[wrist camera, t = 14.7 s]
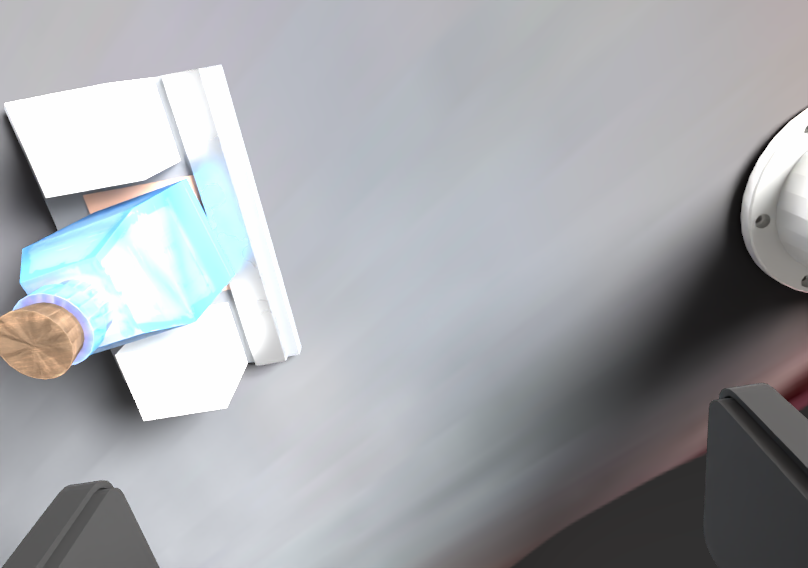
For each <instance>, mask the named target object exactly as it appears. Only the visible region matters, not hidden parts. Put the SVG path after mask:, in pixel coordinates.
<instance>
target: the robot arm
mask: <svg viewBox="0 0 808 568" xmlns="http://www.w3.org/2000/svg"><path fill="white" fill-rule="evenodd" d="M741 227H742V235H743V238H744V241H745V245H746V248H747V250H748V252H749V253H750V255H751V257H752V258H753V260H754V262H755V263H756V264H757V265H758V266H759V267H760V268H761V269H762V270H763V271H764V272H765V273H766V274H767V275H769V276H770V277H772V278H774V279H775V280H777V281H778V282H780V283H781V284H783V285H786V286H788V287H790V288H792V289H795V290H797V291H802V292H807V293H808V108H807V109H806V110H804V111H803V112H802V113H800V114H799V115H798V116H796V117H795V118H794V119H793V120H791V121H790V122H789V123H788V124H787V125H786V126H785V127H784V128H783V129H782V130H781V131H780V132H779V133H778V134H777V135H776V136H775V137H774V138H773V139H772V141H771V142H770V144H769V145H768V146H767V148H766V149H765V150H764V152H763V153H762V155H761V156H760V157H759V159H758V161H757V163H756V165H755V167H754V169H753V171H752V173H751V175H750V177H749V180H748V183H747V186H746V189H745V192H744V195H743V201H742V209H741ZM703 531H704V538H705V541H706V545H707V547H708V550H709V552H710V554H711V556H712V558H713V559H714V561H715V563H716V564H717V566H718V568H808V420H807V419H806V418H805V417H804V416H803V415H802V414H801V413H800V412H799V411H798V410H797V409H796V408H794V407H793V406H792V405H791V404H790V403H789V402H788V401H787V400H786V399H785V398H783V397H782V396H781V395H780V394H779V393H778V392H777V391H776V390H775V389H774V388H772V387H771V386H769V385H768V384H765V383H758V384H751V385H744V386H738V387H731V388H725V389H723V390H722V391H721V393H720V395H719V399H718V400H713V401H711V403H710V406H709V419H708V440H707V461H706V484H705V504H704V526H703ZM2 568H159V566H158V564H157V562H156V560H155V557H154V555H153V553H152V551H151V549H150V547H149V545H148V543H147V541H146V539H145V537H144V535H143V533H142V531H141V529H140V527H139V525H138V523H137V521H136V519H135V516H134V514H133V512H132V510H131V508H130V506H129V504H128V502H127V500H126V498H125V496H124V494H123V493H122V491H121V490H120V489H118V488H114V487H113V486H112V484H111V483H109V482H108V481H102V480H101V481H94V482H87V483H81V484H74V485H69V486H67V487H65V488H64V489H63V490H62V491H61V492H60V493H59V494H58V495H57V496H56V498H55V499H54V500H53V502H52V503H51V504H50V505H49V507H48V508H47V509H46V511H45V512H44V513H43V515H42V516H41V517H40V519H39V520H38V521H37V522H36V524H35V525H34V526H33V528H32V529H31V530H30V532H29V533H28V534H27V535H26V537H25V538H24V539H23V541H22V542H21V543H20V545H19V546H18V547H17V548H16V550H15V551H14V552H13V554H12V555H11V556H10V558H9V559H8V560H7V562H6V563H5V564H4V565H3V567H2Z"/></svg>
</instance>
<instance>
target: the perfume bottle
mask: <svg viewBox="0 0 808 568" xmlns="http://www.w3.org/2000/svg"><path fill="white" fill-rule="evenodd" d="M235 275H236V274H235V272H234V270H233V268H232V266H231V264H230V262H229V260H228V258H227V256H226V254H225V252H224V250H223V248H222V246H221V244H220V242H219V240H218V239H217V237H216V235H215V233H214V231H213V229H212V227H211V225H210V223H209V221H208V219H207V217H206V215H205V213H204V211H203V209H202V207H201V205H200V203H199V201H198V199H197V197H196V195H195V193H194V191H193V189H192V187H191V185H190V183H189V181H188V179H187V178H186V179H184V180H181V181H178V182H175V183H173V184H170V185H167V186H164V187H162V188H159V189H156V190H154V191H151V192H148V193H145V194H143V195H140V196H137V197H135V198H132V199H129V200H126V201H124V202H121V203H118V204H116V205H113V206H110V207H107V208H105V209H102V210H99V211H97V212H94V213H92V214H90V215H88V216H86V217H84V218H82V219H80V220H78V221H76V222H74V223H72V224H70V225H68V226H66V227H64V228H62V229H60V230H59V231H57V232H55V233H53V234H51V235H49V236H47V237H45V238H43V239H41V240H39V241H37V242H35V243H33V244H31V245H29V246H27V247H25V248H23V249H22V261H21V273H20V284H21V286H22V287H23V288H24V290H25V291H26V293H27V294H28V295H27V296H26V297H24V298H22V299H21V300H19V301H18V303H17V304H16V306H15V307H14V308H13V311H10V312H8V313H6V314H5V315H3V316H1V317H0V356H1V357H2V358H3V359H4V360H5V361H6V362H7V363H8V364H9V365H10V366H11V367H12V368H14V369H15V370H17V371H18V372H20V373H22V374H24V375H27V376H29V377H32V378H38V379H51V378H57V377H59V376H61V375H62V374H64V373H66V371H67V370H68V369H69V368H70V366H71V365H76V364H78V363H80V362H82V361H84V360H85V359H86V358H87V357H88V356H90V355H92V354H96V353H99V352H102V351H105V350H108V349H111V348H115V347H118V346H121V345H124V344H127V343H130V342H134V341H137V340H140V339H143V338H146V337H150V336H153V335H156V334H159V333H162V332H165V331H169V330H172V329H175V328H178V327H181V326H184V325H188V324H191V323H194V322H196V321H197V320H198V319H199V318H200V316H201V315H202V314H203V313H204V312H205V310H206V309H207V308H208V307H209V306H210V304H211V303H212V302H213V301H214V300H215V298H216V297H217V296H218V295H219V294H220V292H221V291H222V290H223V289H224V288H225V287H226V285H227V284H228V283H229V282H230V281H231V279H232V278H233V277H234V276H235Z"/></svg>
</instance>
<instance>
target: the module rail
mask: <svg viewBox="0 0 808 568" xmlns="http://www.w3.org/2000/svg"><path fill="white" fill-rule="evenodd" d="M3 107H4V109H5V112H6V114H7V116H8V118H9V121H10V123H11V125H12V127H13V130H14V132H15V134H16V136H17V139H18V141H19V143H20V146H21V148H22V150H23V152H24V155H25V157H26V159H27V161H28V164H29V166H30V168H31V171H32V173H33V175H34V177H35V180H36V182H37V184H38V186H39V189H40V191H41V193H42V196H43V198H44V200H45V202H46V205H47V207H48V209H49V211H50V214H51V216H52V218H53V221H54V223H55V225H56V227H57V230H58V231H59V230H60V229H62V228H64V227H66V226H68V225H70V224H72V223H74V222H76V221H78V220H80V219H82V218H84V217H86V216H88V215H90V214H92V213H94V212H97V211H99V210H102V209H105V208H107V207H110V206H113V205H116V204H118V203H121V202H124V201H126V200H129V199H132V198H135V197H137V196H140V195H143V194H145V193H148V192H151V191H154V190H156V189H159V188H162V187H164V186H167V185H170V184H173V183H175V182H178V181H181V180H184V179H186V178H187V179H188V181H189V183H190V185H191V187H192V189H193V191H194V193H195V195H196V197H197V199H198V201H199V203H200V205H201V207H202V209H203V211H204V213H205V215H206V217H207V219H208V221H209V223H210V225H211V227H212V229H213V231H214V233H215V235H216V237H217V239H218V240H219V242H220V244H221V246H222V248H223V250H224V252H225V254H226V256H227V258H228V260H229V262H230V264H231V266H232V268H233V270H234V272H235V274H236V275H235V276H234V277H233V278H232V279H231V281H230V282H229V283H228V284H227V285H226V287H225V288H224V289H223V290H222V291H221V292H220V294H219V295H218V296H217V297H216V298H215V300H214V301H213V302H212V303H211V304H210V306H209V307H208V308H207V309H206V310H205V312H204V313H203V314H202V315H201V316H200V318H199V319H198V320H197V321H196V322H194V323H191V324H188V325H184V326H181V327H178V328H175V329H172V330H169V331H165V332H162V333H159V334H156V335H153V336H150V337H146V338H143V339H140V340H137V341H134V342H130V343H127V344H124V345H121V346H118V347H115V348H111V349H110V350H111V352H112V354H113V357H114V359H115V361H116V364H117V366H118V368H119V370H120V373H121V375H122V377H123V379H124V382H125V383H126V382H127V384H128V386H129V388H130V391H131V393H132V395H133V397H134V400H135V402H136V404H137V406H138V409H139V411H140V413H141V416H142V418H143V420H144V421H147V420H154V419H160V418H166V417H173V416H179V415H185V414H192V413H198V412H205V411H211V410H217V409H224V408H227V406H228V404H229V402H230V400H231V398H232V396H233V393H234V391H235V389H236V387H237V385H238V383H239V381H240V378H241V376H242V374H243V372H244V370H245V368H246V366H247V364H248V363H250V362H255V365H256V366H259V365H265V364H272V363H278V362H284V361H286V359H287V356H294V355H299V354H300V351H301V348H302V346H301V343H300V339H299V336H298V332H297V329H296V325H295V322H294V318H293V315H292V311H291V308H290V304H289V301H288V297H287V294H286V290H285V286H284V283H283V279H282V276H281V272H280V269H279V265H278V262H277V258H276V255H275V251H274V248H273V244H272V241H271V237H270V234H269V230H268V227H267V223H266V219H265V216H264V212H263V209H262V205H261V202H260V198H259V195H258V191H257V188H256V184H255V181H254V177H253V174H252V170H251V167H250V163H249V159H248V156H247V152H246V149H245V145H244V142H243V138H242V135H241V131H240V128H239V124H238V121H237V117H236V114H235V110H234V107H233V103H232V100H231V96H230V92H229V89H228V85H227V82H226V78H225V75H224V71H223V68H222V65H216V66H211V67H206V68H199V69H193V70H188V71H183V72H178V73H173V74H167V75H162V76H159V77H153V78H145V79H137V80H129V81H121V82H113V83H106V84H101V85H96V86H91V87H85V88H80V89H75V90H70V91H65V92H59V93H54V94H49V95H44V96H39V97H33V98H28V99H23V100H18V101H13V102H7V103H5V106H3Z"/></svg>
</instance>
